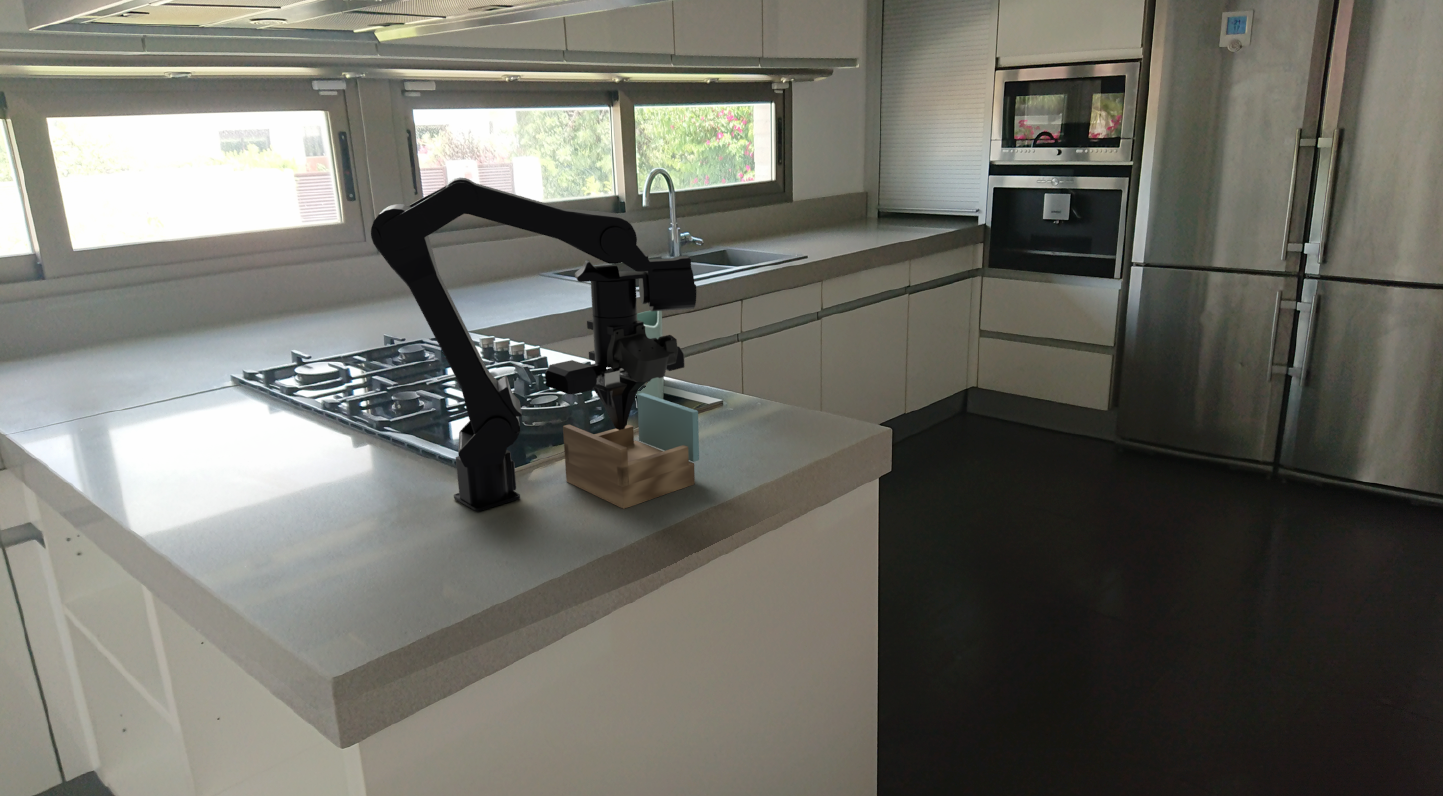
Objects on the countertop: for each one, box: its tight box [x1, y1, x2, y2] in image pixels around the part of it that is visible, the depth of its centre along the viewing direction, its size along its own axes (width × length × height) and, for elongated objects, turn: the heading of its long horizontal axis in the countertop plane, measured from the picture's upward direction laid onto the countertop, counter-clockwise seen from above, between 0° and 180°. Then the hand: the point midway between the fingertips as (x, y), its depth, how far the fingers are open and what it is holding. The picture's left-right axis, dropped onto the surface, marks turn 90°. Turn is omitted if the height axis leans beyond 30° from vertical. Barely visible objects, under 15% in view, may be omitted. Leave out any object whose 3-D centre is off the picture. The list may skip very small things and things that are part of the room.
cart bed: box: [562, 424, 696, 510], centre depth 128 cm, size 12×13×8 cm
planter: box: [637, 310, 665, 400], centre depth 168 cm, size 16×8×20 cm, turn 3°
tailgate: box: [636, 393, 700, 463], centre depth 132 cm, size 2×12×7 cm, turn 42°
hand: (620, 428), depth 126 cm, fingers closed
